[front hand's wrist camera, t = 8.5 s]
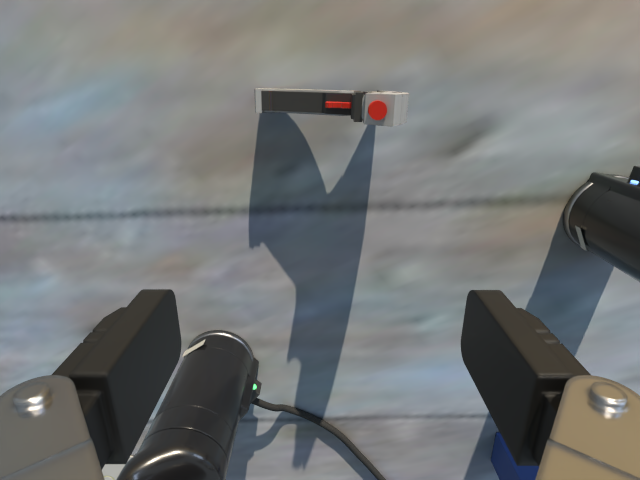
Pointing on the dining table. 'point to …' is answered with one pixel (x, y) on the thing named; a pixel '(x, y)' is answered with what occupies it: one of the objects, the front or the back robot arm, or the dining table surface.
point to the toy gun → (337, 104)
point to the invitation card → (112, 470)
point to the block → (509, 463)
